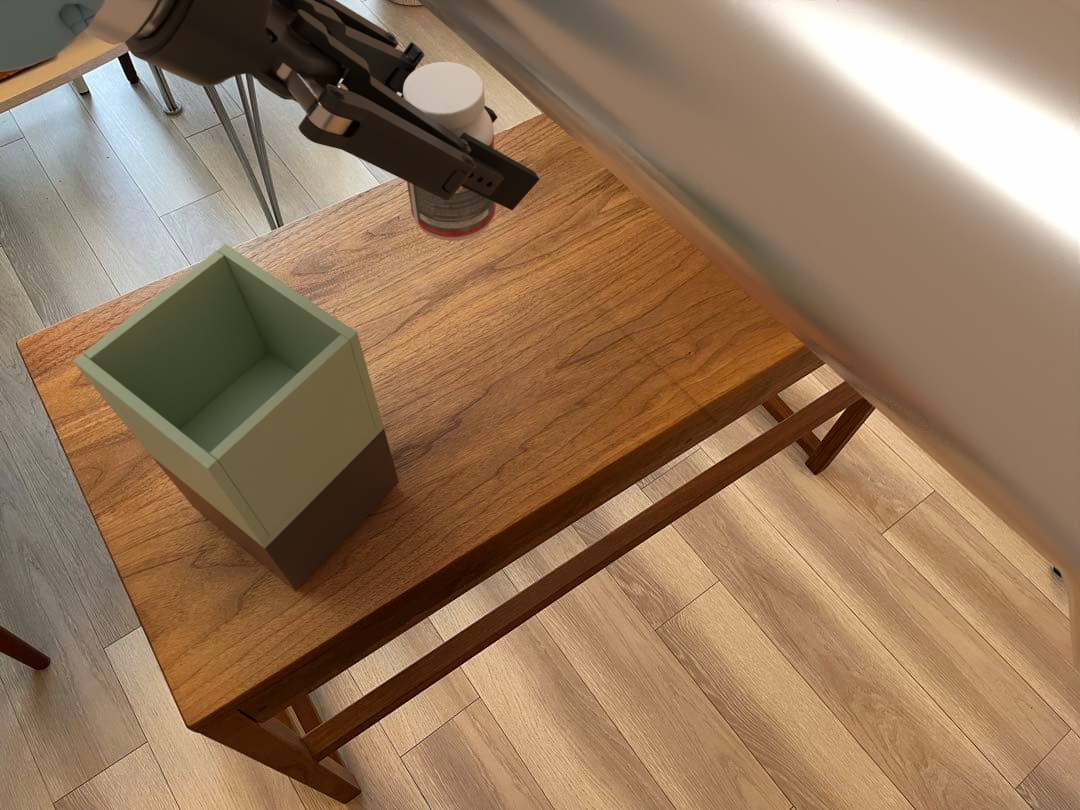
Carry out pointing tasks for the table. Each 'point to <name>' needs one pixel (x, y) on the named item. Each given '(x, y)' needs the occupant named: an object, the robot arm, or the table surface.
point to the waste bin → (251, 410)
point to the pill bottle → (459, 108)
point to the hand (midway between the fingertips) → (502, 159)
